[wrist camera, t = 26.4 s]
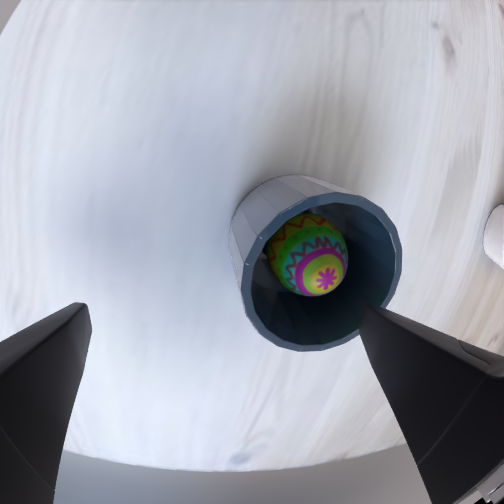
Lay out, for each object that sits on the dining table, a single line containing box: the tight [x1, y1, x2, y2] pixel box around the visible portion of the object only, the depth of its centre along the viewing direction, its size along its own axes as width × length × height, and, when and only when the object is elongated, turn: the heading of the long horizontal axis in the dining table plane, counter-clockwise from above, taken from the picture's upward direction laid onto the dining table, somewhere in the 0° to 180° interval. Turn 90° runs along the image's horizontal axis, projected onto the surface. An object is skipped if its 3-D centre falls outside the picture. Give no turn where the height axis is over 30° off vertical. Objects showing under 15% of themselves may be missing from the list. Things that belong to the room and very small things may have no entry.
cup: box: [229, 175, 402, 352], centre depth 18 cm, size 9×9×7 cm
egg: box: [266, 213, 348, 296], centre depth 18 cm, size 5×5×6 cm
